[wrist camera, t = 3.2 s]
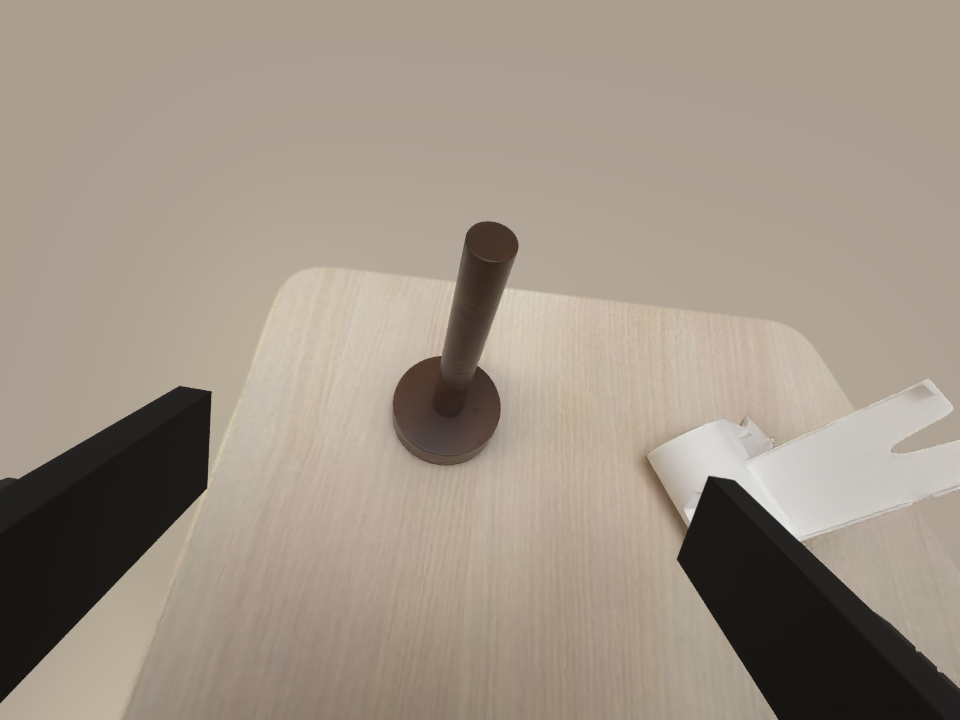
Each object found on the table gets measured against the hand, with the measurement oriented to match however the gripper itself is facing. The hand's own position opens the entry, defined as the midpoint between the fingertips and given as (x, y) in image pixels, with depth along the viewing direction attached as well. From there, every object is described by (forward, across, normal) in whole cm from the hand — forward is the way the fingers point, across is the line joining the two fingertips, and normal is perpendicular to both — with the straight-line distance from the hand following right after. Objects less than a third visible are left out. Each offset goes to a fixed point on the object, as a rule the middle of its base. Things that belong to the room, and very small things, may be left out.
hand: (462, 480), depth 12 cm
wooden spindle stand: (+16, 0, -5) cm, 17 cm away
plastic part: (+15, +18, -7) cm, 25 cm away
